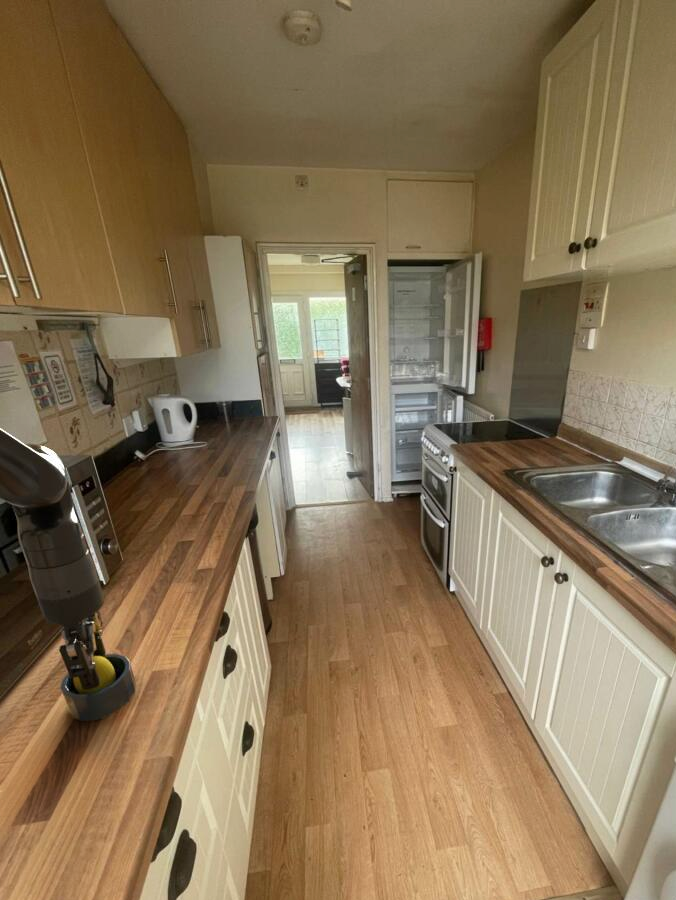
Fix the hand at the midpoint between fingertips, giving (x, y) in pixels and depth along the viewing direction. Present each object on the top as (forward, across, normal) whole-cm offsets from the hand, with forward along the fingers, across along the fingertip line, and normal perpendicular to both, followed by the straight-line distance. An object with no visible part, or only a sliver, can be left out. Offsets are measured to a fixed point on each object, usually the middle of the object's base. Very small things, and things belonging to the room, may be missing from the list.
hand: (95, 670), depth 69 cm
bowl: (+6, 0, 0) cm, 6 cm away
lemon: (+6, 0, 0) cm, 6 cm away
